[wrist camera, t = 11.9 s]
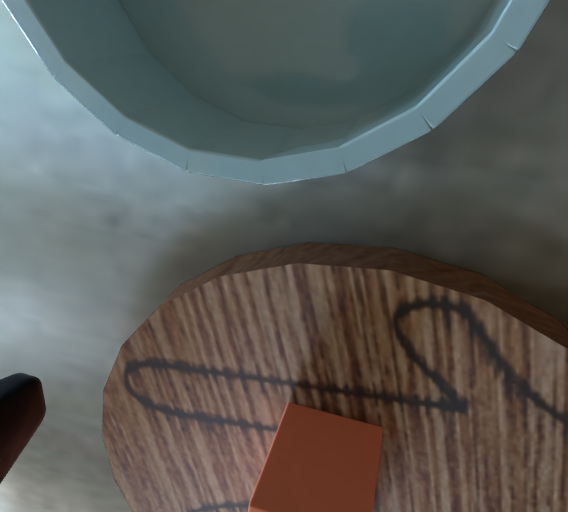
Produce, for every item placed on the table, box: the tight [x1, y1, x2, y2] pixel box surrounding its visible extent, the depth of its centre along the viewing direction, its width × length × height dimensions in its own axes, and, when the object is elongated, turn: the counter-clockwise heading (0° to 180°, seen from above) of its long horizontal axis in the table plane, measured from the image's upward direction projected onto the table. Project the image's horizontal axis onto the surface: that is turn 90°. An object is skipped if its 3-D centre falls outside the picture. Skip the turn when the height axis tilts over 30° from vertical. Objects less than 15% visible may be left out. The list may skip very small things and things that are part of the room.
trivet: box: [102, 242, 568, 512], centre depth 23 cm, size 25×25×2 cm
